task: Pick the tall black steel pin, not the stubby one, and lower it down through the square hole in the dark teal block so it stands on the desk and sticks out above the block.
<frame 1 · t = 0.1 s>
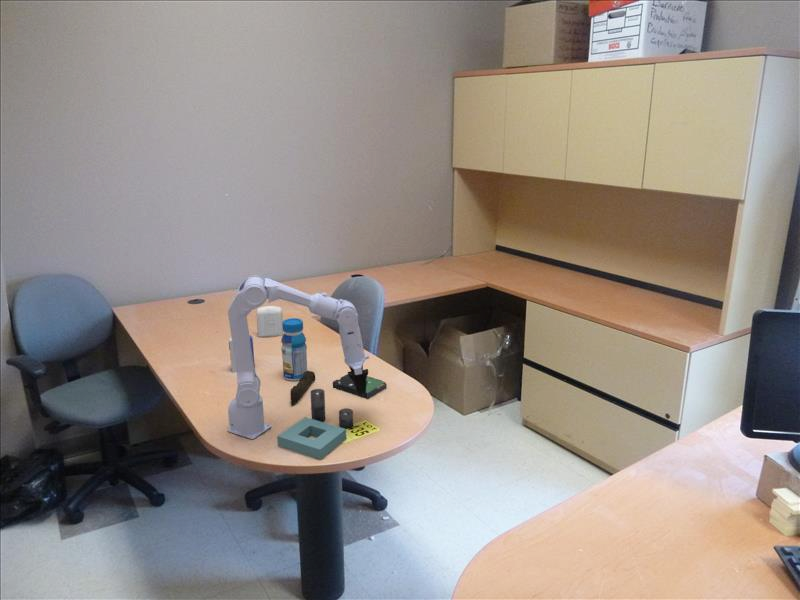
hand: (360, 386, 169), 10 cm above the table, tool pointing down, fingers open, 7 cm apart
short pin: (346, 425, 168), on the table
hand tool: (303, 394, 188), on the table
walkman: (243, 369, 206), on the table
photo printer: (270, 335, 239), on the table
hole block: (312, 442, 159), on the table
disk drive: (359, 389, 192), on the table
tall pin: (318, 419, 171), on the table
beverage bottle: (295, 376, 200), on the table
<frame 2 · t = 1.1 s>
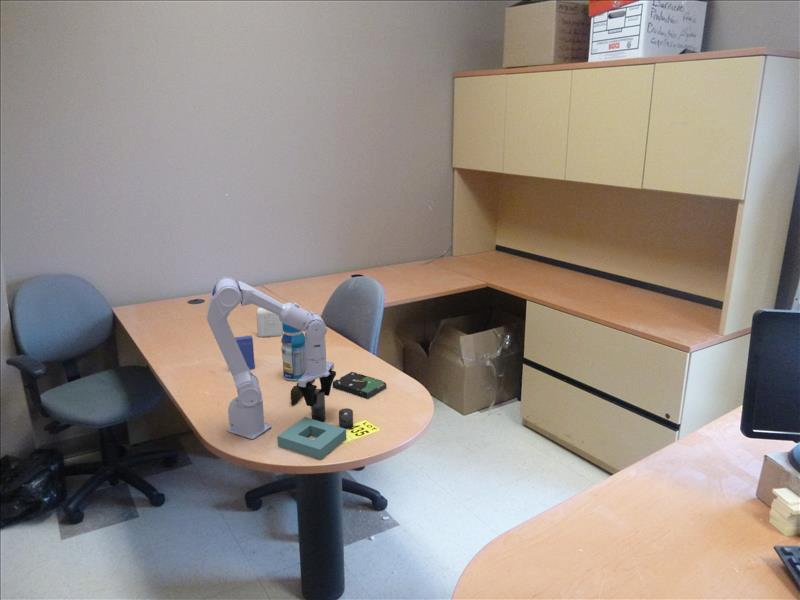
hand: (318, 400, 170), 6 cm above the table, tool pointing down, fingers open, 7 cm apart
nothing on the table moved.
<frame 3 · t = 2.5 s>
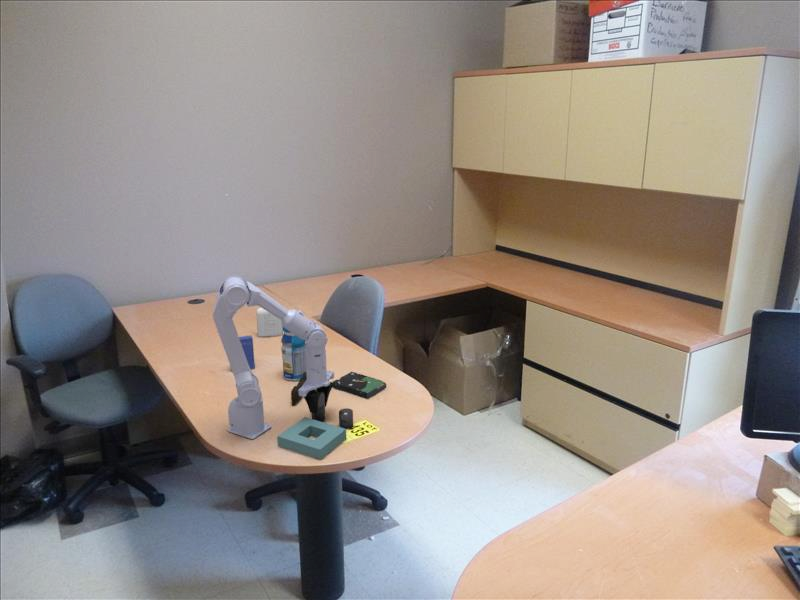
hand: (318, 409, 170), 3 cm above the table, tool pointing down, fingers closed on tall pin, 4 cm apart
tall pin: (318, 419, 171), on the table, touching gripper
everything else where it was.
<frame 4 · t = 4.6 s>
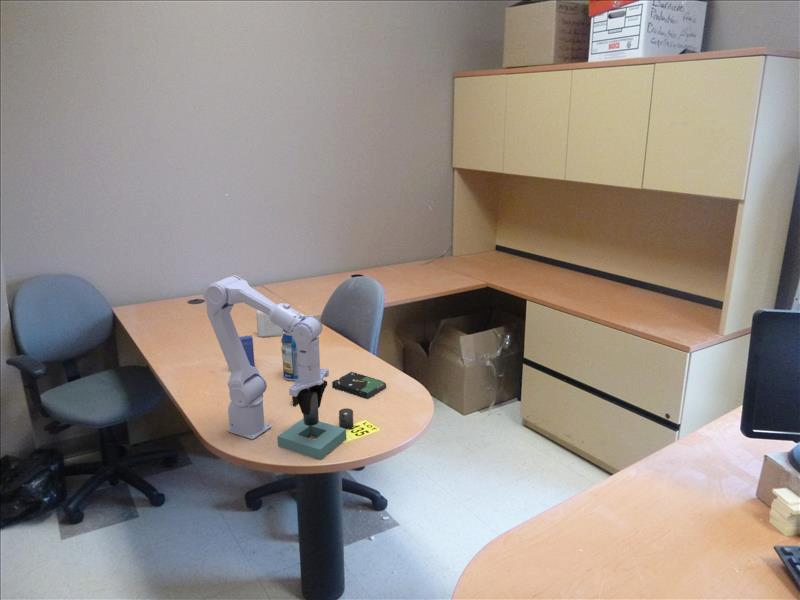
hand: (311, 410, 157), 10 cm above the table, tool pointing down, fingers closed on tall pin, 4 cm apart
tall pin: (311, 422, 158), point 6 cm above the table, touching gripper
everything else where it was.
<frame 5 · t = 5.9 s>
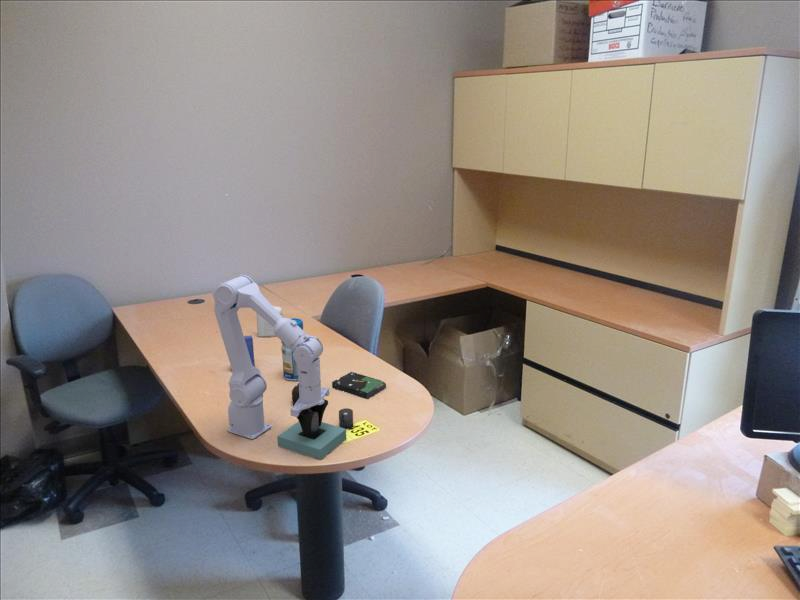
hand: (311, 429, 158), 4 cm above the table, tool pointing down, fingers closed on tall pin, 4 cm apart
tall pin: (312, 440, 159), resting in hole block, touching gripper
everything else where it was.
when the fingers open (4 cm above the table, at t = 6.7 s): tall pin stays where it is, resting in hole block.
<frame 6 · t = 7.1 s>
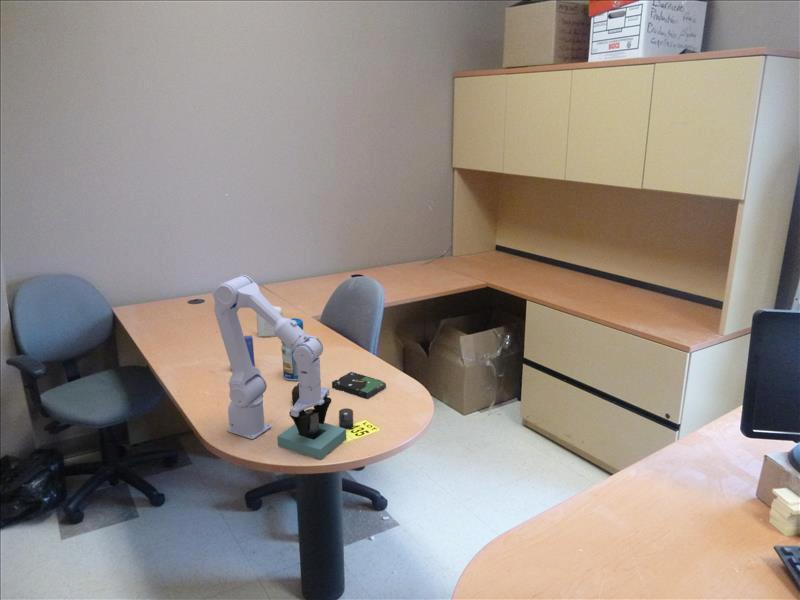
hand: (311, 429, 158), 4 cm above the table, tool pointing down, fingers open, 7 cm apart
tall pin: (312, 442, 159), resting in hole block
everything else where it was.
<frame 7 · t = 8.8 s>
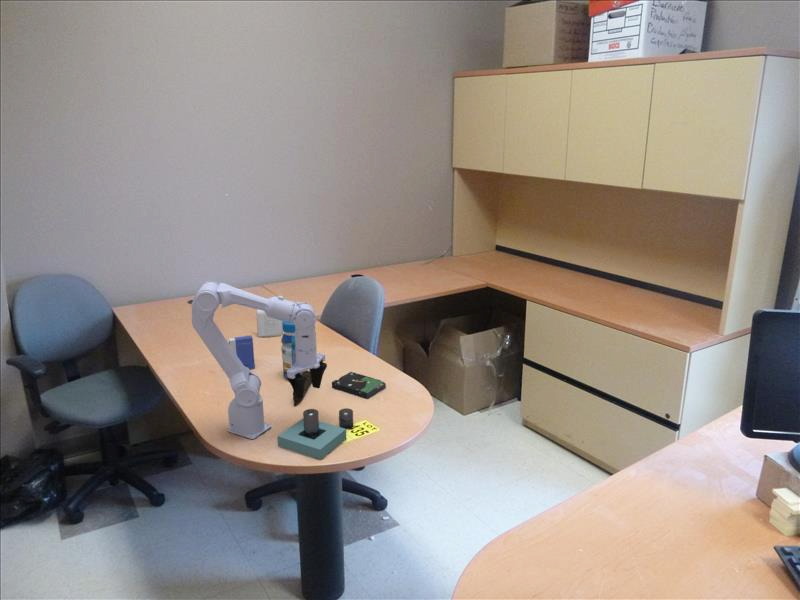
hand: (308, 392, 165), 10 cm above the table, tool pointing down, fingers open, 7 cm apart
nothing on the table moved.
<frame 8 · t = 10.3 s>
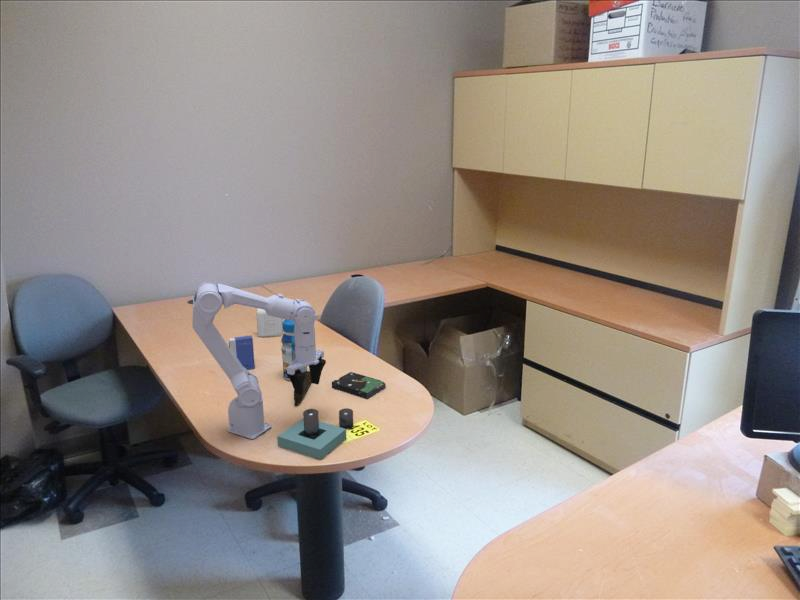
hand: (307, 388, 168), 10 cm above the table, tool pointing down, fingers open, 7 cm apart
nothing on the table moved.
at the end: tall pin 0.1 cm off-centre on the hole block, point 0.0 cm above the hole block's base; tall pin tilted 0°; short pin moved 0.0 cm from its start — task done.
